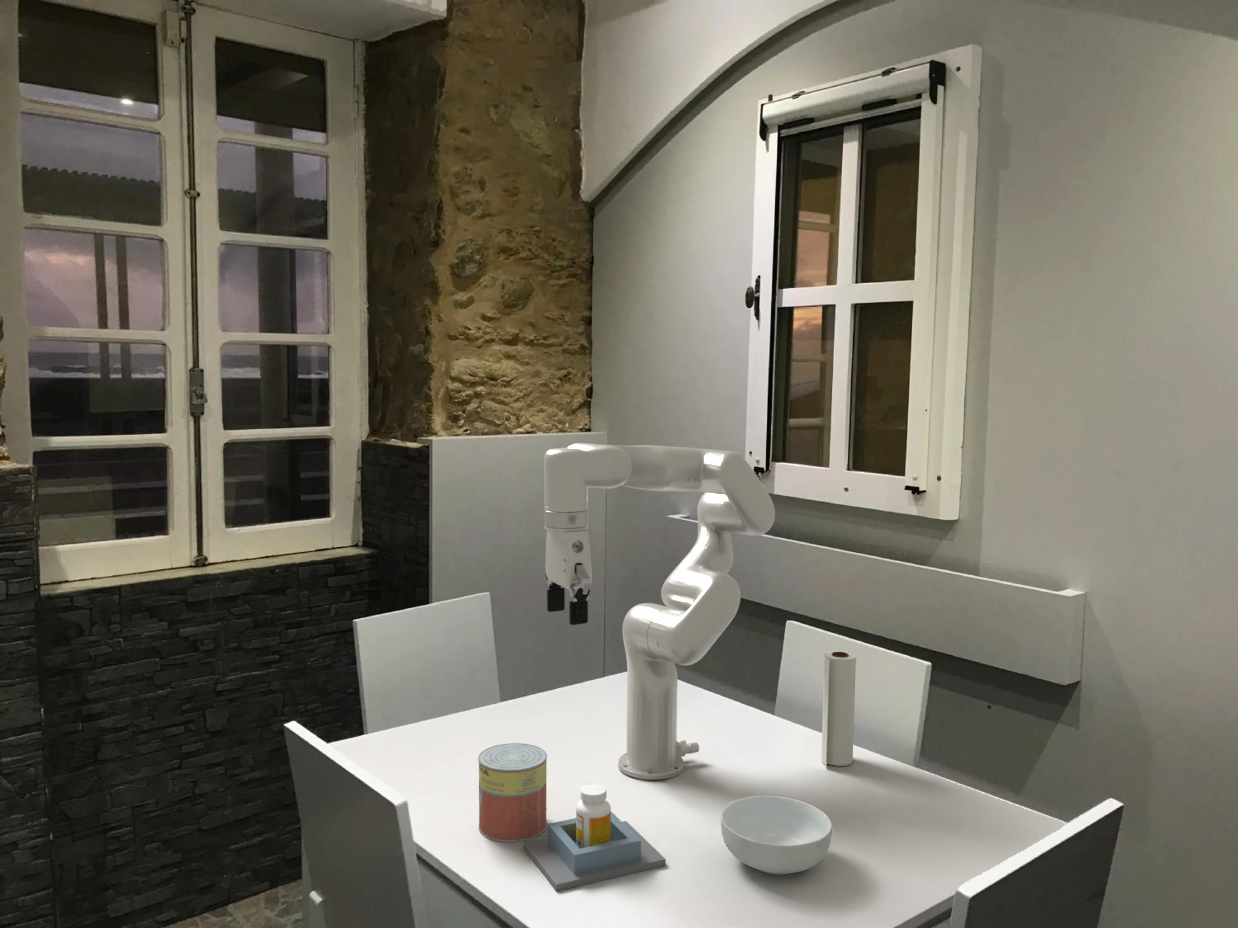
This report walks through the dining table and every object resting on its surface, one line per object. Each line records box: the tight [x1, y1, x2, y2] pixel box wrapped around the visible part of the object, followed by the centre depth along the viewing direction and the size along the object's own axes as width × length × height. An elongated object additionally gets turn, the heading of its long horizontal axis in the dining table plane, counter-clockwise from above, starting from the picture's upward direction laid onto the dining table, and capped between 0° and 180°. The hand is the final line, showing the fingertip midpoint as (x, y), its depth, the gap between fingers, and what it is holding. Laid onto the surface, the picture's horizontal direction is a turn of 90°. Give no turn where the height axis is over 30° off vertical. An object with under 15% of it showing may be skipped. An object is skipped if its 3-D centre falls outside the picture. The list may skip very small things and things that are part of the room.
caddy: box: [522, 811, 667, 892], centre depth 150 cm, size 18×14×4 cm
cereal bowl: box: [720, 795, 833, 875], centre depth 149 cm, size 17×17×7 cm
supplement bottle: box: [575, 784, 612, 849], centre depth 150 cm, size 5×5×10 cm
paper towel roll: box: [821, 650, 857, 769], centre depth 188 cm, size 7×6×21 cm
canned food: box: [477, 742, 548, 843], centre depth 160 cm, size 11×11×12 cm
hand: (567, 617), depth 168 cm, fingers open, 9 cm apart
